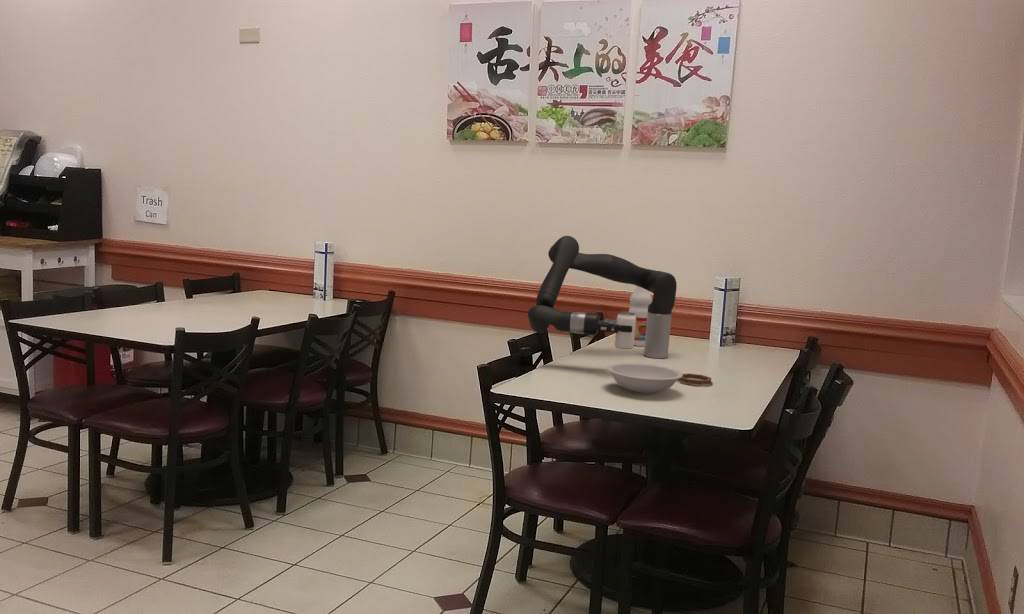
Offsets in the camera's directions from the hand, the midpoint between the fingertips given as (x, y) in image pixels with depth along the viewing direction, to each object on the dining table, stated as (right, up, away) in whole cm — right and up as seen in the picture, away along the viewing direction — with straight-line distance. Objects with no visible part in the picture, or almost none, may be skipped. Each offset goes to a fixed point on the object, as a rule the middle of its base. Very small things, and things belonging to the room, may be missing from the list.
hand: (632, 328), depth 288 cm
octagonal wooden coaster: (+20, -18, -3) cm, 28 cm away
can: (-3, -7, +2) cm, 8 cm away
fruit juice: (+11, -9, +65) cm, 66 cm away
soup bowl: (0, -20, -21) cm, 29 cm away
